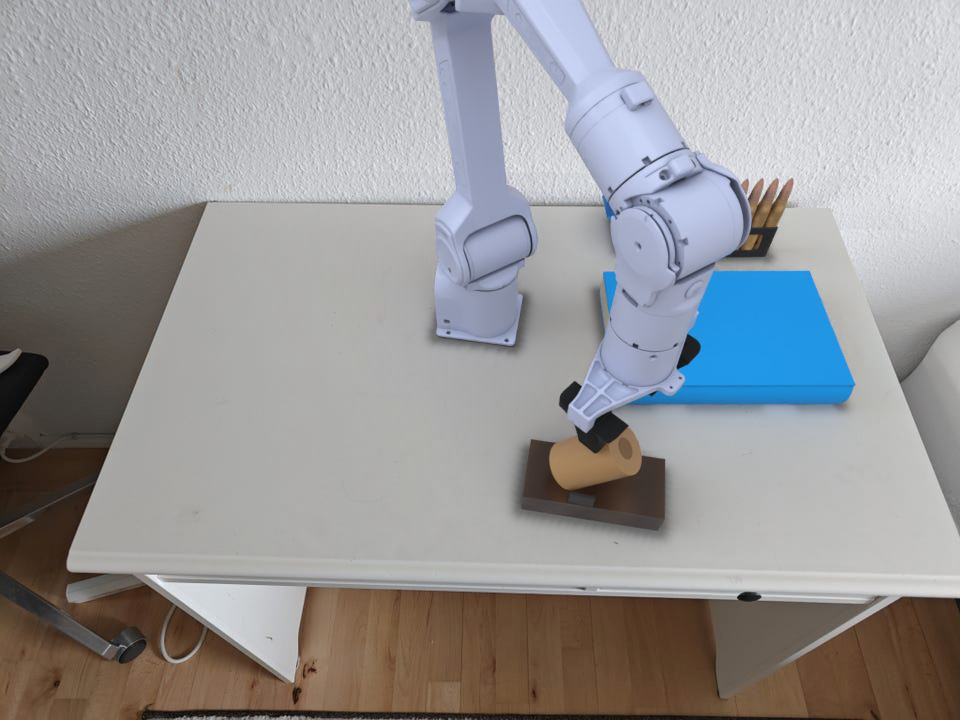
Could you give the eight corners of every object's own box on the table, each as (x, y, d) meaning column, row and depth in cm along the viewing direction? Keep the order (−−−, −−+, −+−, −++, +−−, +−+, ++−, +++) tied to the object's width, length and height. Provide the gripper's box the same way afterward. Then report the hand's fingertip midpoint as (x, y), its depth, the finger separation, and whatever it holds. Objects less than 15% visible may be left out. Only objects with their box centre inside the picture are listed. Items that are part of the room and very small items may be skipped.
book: (601, 271, 76) (810, 266, 76) (596, 294, 80) (796, 290, 80) (621, 391, 67) (860, 386, 66) (614, 412, 70) (842, 407, 70)
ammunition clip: (761, 246, 84) (798, 172, 74) (765, 256, 83) (803, 183, 73) (681, 247, 84) (707, 174, 74) (684, 257, 83) (710, 184, 73)
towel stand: (521, 508, 63) (523, 489, 60) (529, 452, 67) (531, 430, 63) (658, 530, 62) (669, 512, 58) (658, 471, 66) (669, 450, 62)
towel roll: (580, 498, 61) (546, 478, 59) (583, 454, 64) (551, 433, 61) (641, 483, 56) (607, 461, 54) (643, 436, 59) (610, 413, 57)
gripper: (633, 415, 42) (603, 498, 53) (749, 295, 48) (700, 392, 59) (552, 355, 45) (539, 445, 56) (671, 249, 51) (638, 350, 62)
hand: (618, 415), depth 57 cm, fingers open, 7 cm apart
